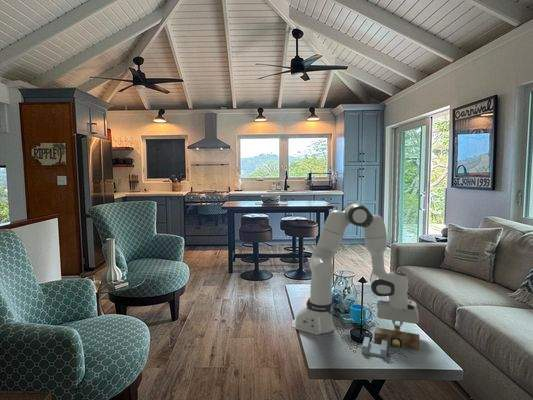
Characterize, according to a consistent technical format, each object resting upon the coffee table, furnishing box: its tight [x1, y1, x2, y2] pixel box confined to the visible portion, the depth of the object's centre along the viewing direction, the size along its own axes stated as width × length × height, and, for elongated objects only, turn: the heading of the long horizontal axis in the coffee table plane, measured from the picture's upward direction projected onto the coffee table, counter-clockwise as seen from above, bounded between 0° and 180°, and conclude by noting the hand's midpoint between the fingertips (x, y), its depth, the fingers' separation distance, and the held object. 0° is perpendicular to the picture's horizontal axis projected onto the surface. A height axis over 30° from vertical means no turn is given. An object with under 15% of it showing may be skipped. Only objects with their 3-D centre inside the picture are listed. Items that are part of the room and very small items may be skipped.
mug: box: [349, 303, 373, 325], centre depth 191 cm, size 12×8×8 cm
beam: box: [373, 326, 421, 351], centre depth 166 cm, size 20×6×5 cm, turn 67°
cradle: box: [361, 336, 388, 359], centre depth 159 cm, size 10×9×4 cm
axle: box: [391, 328, 401, 349], centre depth 168 cm, size 4×14×4 cm, turn 157°
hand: (397, 328), depth 178 cm, fingers closed
